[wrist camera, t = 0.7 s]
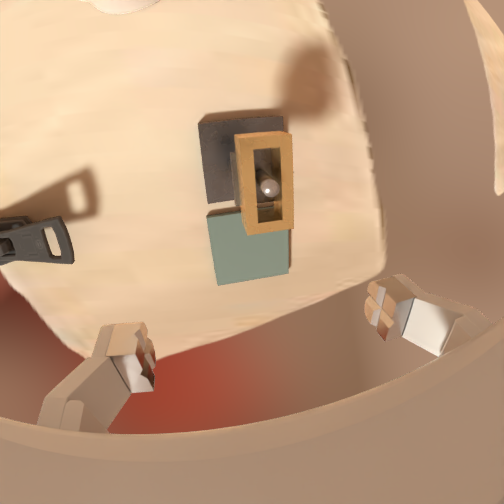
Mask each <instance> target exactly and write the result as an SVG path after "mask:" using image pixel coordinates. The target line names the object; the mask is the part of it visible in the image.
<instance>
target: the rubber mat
mask: <svg viewBox="0 0 504 504" xmlns="http://www.w3.org/2000/svg"><path fill="white" fill-rule="evenodd" d="M269 208H274V206H271V207H264V208H257V210H262V209H269ZM206 217H207V223H208V230H209V236H210V243H211V249H212V255H213V261H214V267H215V273H216V279H217V284H218V286H219V285H225V284H231V283H237V282H243V281H248V280H254V279H260V278H266V277H271V276H277V275H282V274H288V267H289V247H288V230H281V231H274V232H268V233H261V234H254V235H248V236H247V233H246V231H245V228H244V226H243V223H242V217H241V211H235V212H228V213H221V214H215V215H208V216H206Z"/></svg>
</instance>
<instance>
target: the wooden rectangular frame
mask: <svg viewBox="0 0 504 504" xmlns="http://www.w3.org/2000/svg"><path fill="white" fill-rule="evenodd" d="M234 140H235V151H236V162H237V173H238V185H239V195H240V206H241V217H242V223H243V226H244V228H245V231H246V233H247V236H248V235H254V234H261V233H268V232H274V231H281V230H288V229H294V199H293V153H292V134H289V133H286V132H283V131H271V132H257V133H246V134H236V135H234ZM264 148H271V157H272V178H273V179H274V180H275V181H276V182H277V183H278V184H279V187H280V191H279V193H278V194H277V195H276V196H274V197H273V200H274V208H269V209H262V210H257V198H256V183H255V169H254V154H253V149H264Z"/></svg>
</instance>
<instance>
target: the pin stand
mask: <svg viewBox="0 0 504 504" xmlns="http://www.w3.org/2000/svg"><path fill="white" fill-rule="evenodd" d="M198 129H199V138H200V146H201V155H202V163H203V171H204V179H205V186H206V194H207V201H208V204H210V203H216V202H223V201H230V200H234V201H235V205H236V206H240V195H239V185H238V173H237V162H236V151H235V140H234V135H236V134H246V133H257V132H271V131H283V116H270V117H254V118H242V119H231V120H222V121H213V122H205V123H198ZM253 154H254V169H255V183H256V198H257V203H265V202H273V201H274V200H273V197H274V196H276V195H277V194H278V193H279V191H280V187H279V184H278V183H277V182H276V181H275V180H274V179H273V178H272V157H271V148H264V149H253Z"/></svg>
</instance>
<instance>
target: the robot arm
mask: <svg viewBox="0 0 504 504" xmlns="http://www.w3.org/2000/svg"><path fill="white" fill-rule="evenodd" d="M79 1H83V2H89V3H90V4H92V5H93V6H94V7H95V8H96V9H97V10H99V11H101V12H104V13H108V14H126V13H131V12H135V11H139V10H141V9H144V8H146V7H149V6H151V5H153V4H154V3H156V2H158V1H159V0H79ZM367 292H368V294H369V297H368V298H367V299H366V301H365V306H364V311H365V316H366V318H367V320H368V321H369V322H370V324H372V325H374V326H377V329H376V331H377V333H378V334H379V335H380V336H381V337H382V339H383V340H384V341H385V342H386V341H389V340H392V339H395V338H398V337H401V336H402V337H403V338H405V339H407V340H409V341H410V342H412V343H414V344H416V345H418V346H420V347H422V348H423V349H425V350H427V351H429V352H431V353H433V354H434V355H436V356H438V358H437V359H435V360H433V361H431V362H430V363H428V364H426V365H424V366H422V367H420V368H418V369H416V370H414V371H412V372H409V373H408V374H405V375H403V376H401V377H399V378H397V379H394V380H392V381H389V382H387V383H385V384H383V385H380V386H378V387H375V388H373V389H370V390H368V391H365V392H362V393H360V394H357V395H354V396H352V397H349V398H346V399H343V400H340V401H337V402H334V403H331V404H328V405H324V406H321V407H318V408H314V409H311V410H307V411H304V412H300V413H296V414H292V415H288V416H284V417H280V418H275V419H271V420H266V421H262V422H257V423H251V424H246V425H241V426H234V427H227V428H220V429H213V430H204V431H195V432H183V433H170V434H110V433H109V432H108V431H107V428H108V427H109V425H110V424H111V423H112V421H113V420H114V418H115V417H116V415H117V414H118V412H119V411H120V409H121V408H122V407H123V405H124V403H125V402H126V401H127V399H128V398H129V396H130V395H131V393H135V392H147V391H154V381H155V375H154V373H153V371H152V370H153V368H154V367H155V366H156V357H155V350H154V346H153V343H152V341H151V340H150V339H149V338H147V332H148V330H147V328H146V326H145V323H143V322H132V323H120V324H109V325H103V326H102V327H101V329H100V332H99V335H98V338H97V341H96V344H95V347H94V350H93V353H92V357H88V358H87V359H85V360H84V361H83V362H82V363H81V364H80V365H79V366H78V367H77V368H76V369H75V370H73V371H72V372H71V373H70V374H69V375H68V376H67V377H66V378H65V379H64V380H63V381H62V382H60V383H59V384H58V385H57V386H56V387H55V388H54V389H53V390H52V391H51V392H50V393H49V394H48V395H47V396H46V397H45V399H44V402H43V405H42V408H41V412H40V415H39V418H38V422H37V425H32V424H28V423H23V422H18V421H14V420H10V419H6V418H2V417H0V504H504V317H502V319H500V320H498V321H497V322H496V323H494V324H493V323H492V322H491V321H490V320H489V319H488V318H487V317H486V316H484V315H483V314H482V313H481V312H480V311H479V310H478V309H477V308H474V307H471V306H468V305H465V304H462V303H459V302H456V301H453V300H449V299H447V298H443V297H441V296H437V295H434V294H431V293H425V292H424V291H423V290H422V289H421V288H420V287H418V286H417V285H416V284H415V283H414V282H413V281H411V280H410V279H409V278H408V277H407V276H405V275H404V274H398V275H394V276H391V277H389V278H385V279H381V280H377V281H373V282H370V283H369V285H368V289H367Z"/></svg>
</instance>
